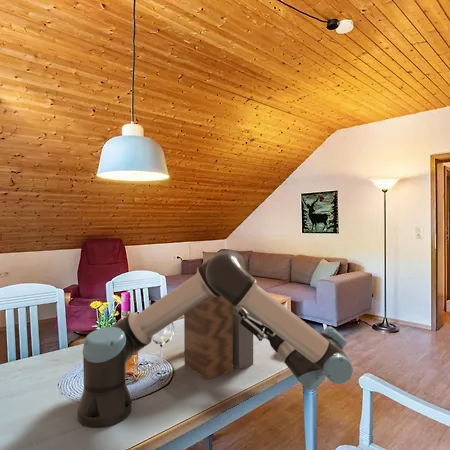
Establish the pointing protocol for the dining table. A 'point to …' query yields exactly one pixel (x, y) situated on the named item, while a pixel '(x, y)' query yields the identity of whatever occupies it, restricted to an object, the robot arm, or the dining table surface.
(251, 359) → the base block
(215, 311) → the stand
